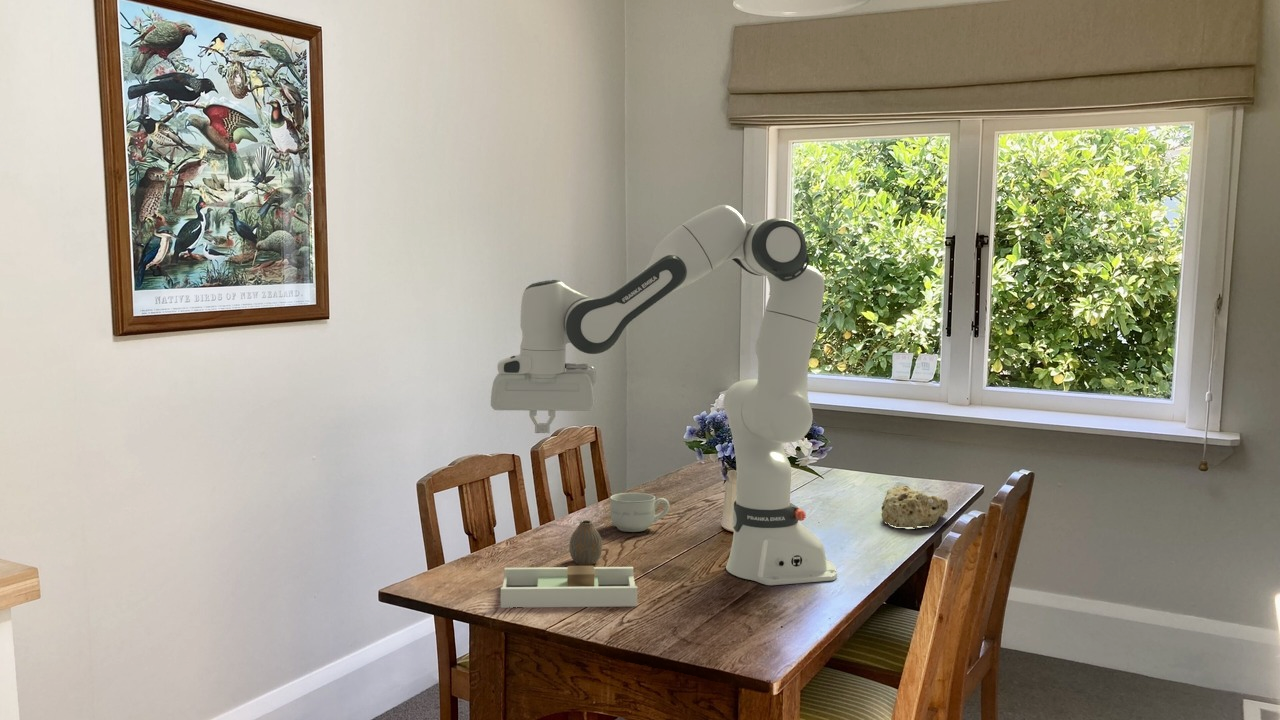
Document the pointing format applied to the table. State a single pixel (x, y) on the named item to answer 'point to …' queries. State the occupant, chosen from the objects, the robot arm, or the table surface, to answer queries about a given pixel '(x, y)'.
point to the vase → (585, 544)
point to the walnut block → (580, 576)
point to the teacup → (635, 511)
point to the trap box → (567, 588)
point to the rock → (911, 508)
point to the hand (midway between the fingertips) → (542, 432)
